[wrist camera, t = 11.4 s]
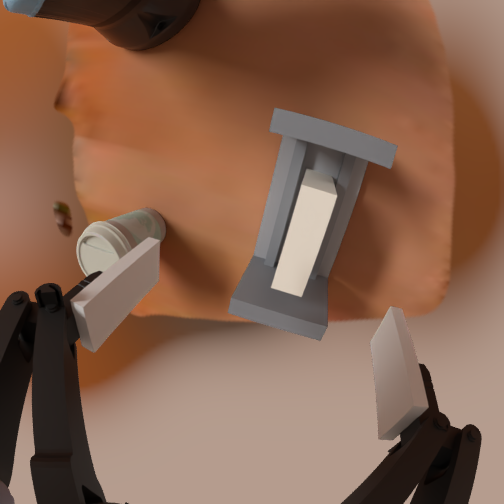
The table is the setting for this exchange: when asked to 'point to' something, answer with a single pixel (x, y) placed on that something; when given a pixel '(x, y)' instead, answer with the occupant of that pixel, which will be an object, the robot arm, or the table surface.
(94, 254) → the coffee cup
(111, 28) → the robot arm
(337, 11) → the table surface
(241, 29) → the table surface
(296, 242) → the block
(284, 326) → the track
